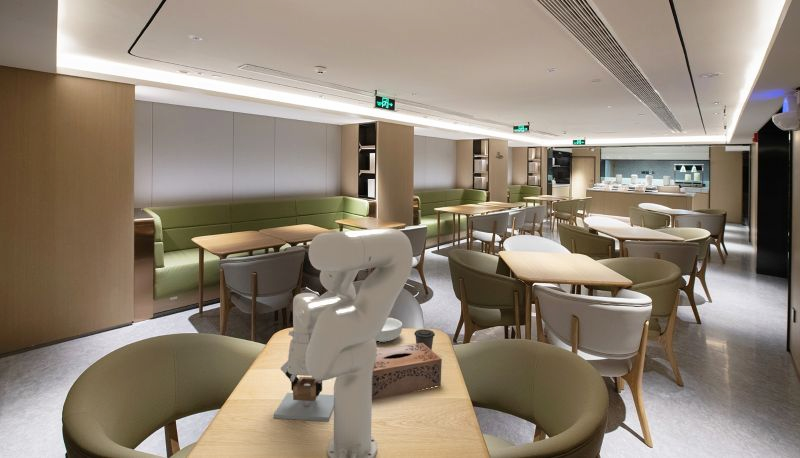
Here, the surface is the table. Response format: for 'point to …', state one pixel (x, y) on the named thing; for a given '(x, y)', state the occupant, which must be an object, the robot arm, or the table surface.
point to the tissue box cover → (405, 370)
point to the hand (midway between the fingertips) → (306, 392)
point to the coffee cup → (425, 337)
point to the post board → (306, 408)
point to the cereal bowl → (390, 330)
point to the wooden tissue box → (305, 389)
